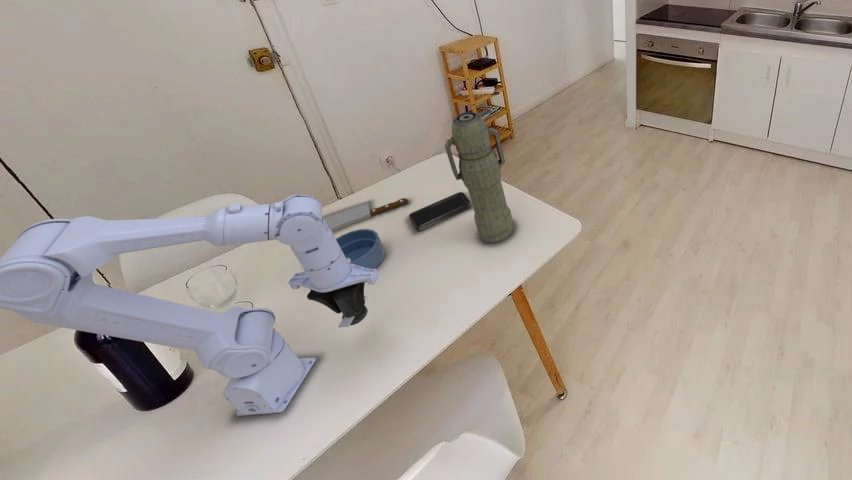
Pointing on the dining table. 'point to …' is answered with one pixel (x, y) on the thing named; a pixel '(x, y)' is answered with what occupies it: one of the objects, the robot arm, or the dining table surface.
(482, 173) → the thermos
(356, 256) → the blue round bowl
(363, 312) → the blade unit
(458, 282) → the dining table surface
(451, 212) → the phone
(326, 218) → the kitchen cleaver
